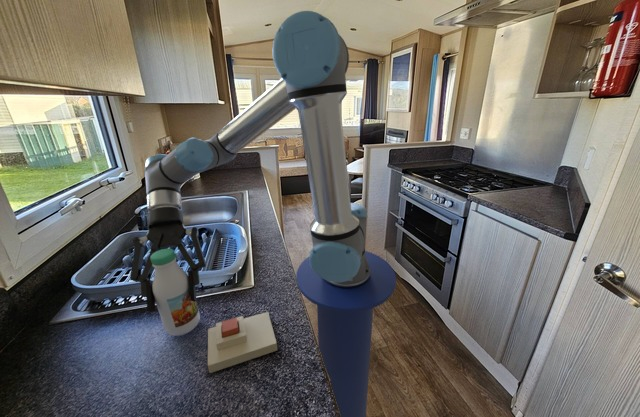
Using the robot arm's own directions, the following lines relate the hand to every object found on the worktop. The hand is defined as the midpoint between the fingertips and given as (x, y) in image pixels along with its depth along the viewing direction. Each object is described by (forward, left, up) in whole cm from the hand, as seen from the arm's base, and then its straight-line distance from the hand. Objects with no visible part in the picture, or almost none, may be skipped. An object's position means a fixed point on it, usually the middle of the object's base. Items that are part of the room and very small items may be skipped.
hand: (173, 305), depth 57 cm
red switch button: (-11, +5, -6) cm, 14 cm away
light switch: (-13, +6, -10) cm, 18 cm away
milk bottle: (0, -3, -9) cm, 9 cm away
